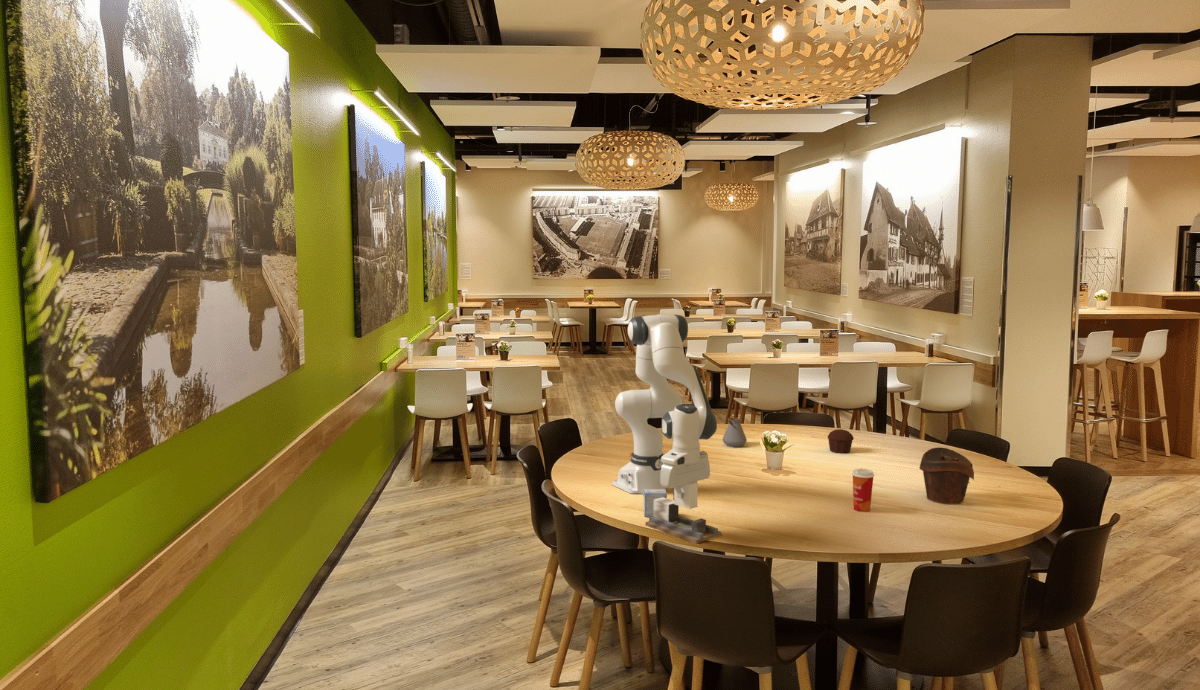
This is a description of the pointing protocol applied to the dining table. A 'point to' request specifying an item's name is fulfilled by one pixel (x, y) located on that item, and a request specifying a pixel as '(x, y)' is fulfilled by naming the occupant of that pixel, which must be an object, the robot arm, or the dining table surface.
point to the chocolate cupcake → (946, 475)
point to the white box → (687, 496)
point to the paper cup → (862, 489)
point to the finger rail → (679, 523)
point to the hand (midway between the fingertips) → (685, 496)
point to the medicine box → (651, 500)
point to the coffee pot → (734, 433)
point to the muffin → (840, 441)
